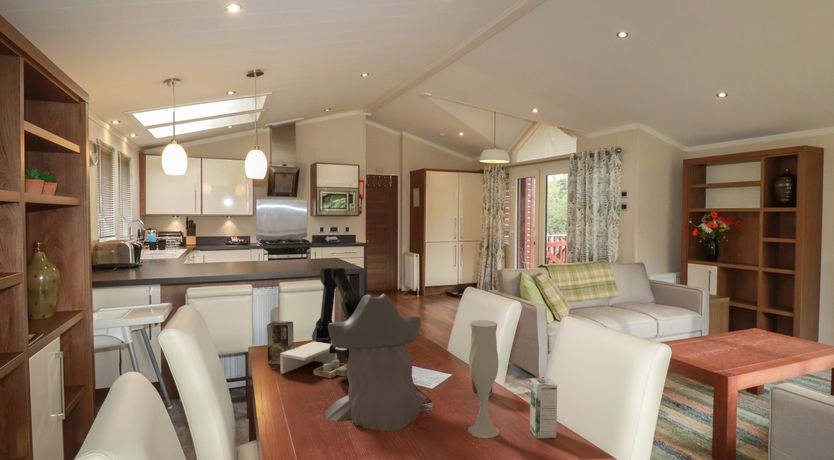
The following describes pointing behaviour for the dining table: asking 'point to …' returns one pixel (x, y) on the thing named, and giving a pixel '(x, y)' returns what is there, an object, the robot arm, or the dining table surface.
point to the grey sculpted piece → (377, 366)
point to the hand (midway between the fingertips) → (353, 373)
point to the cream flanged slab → (305, 356)
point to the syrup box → (543, 408)
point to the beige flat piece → (339, 371)
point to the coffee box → (279, 339)
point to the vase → (483, 373)
